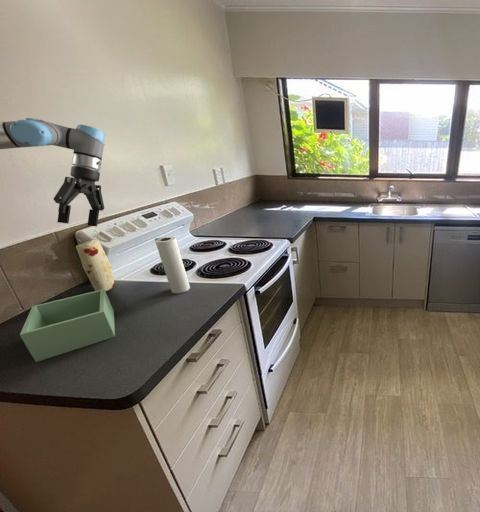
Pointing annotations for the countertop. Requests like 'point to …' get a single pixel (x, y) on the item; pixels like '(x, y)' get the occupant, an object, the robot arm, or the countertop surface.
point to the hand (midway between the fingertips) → (78, 224)
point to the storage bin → (68, 324)
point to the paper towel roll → (172, 264)
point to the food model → (96, 265)
